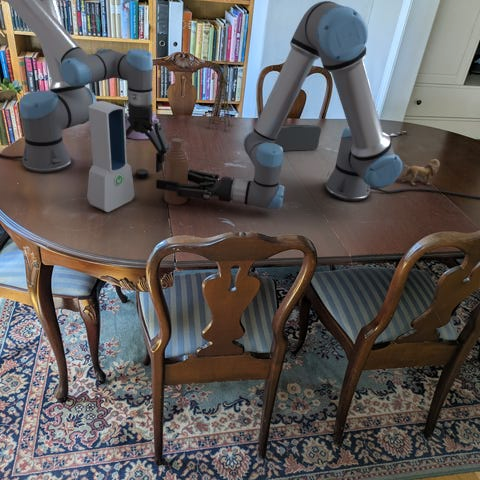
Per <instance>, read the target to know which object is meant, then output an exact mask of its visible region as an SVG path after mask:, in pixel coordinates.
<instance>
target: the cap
mask: <svg viewBox="0 0 480 480" xmlns="http://www.w3.org/2000/svg"><path fill="white" fill-rule="evenodd" d="M135 178H137V179H138V180H147V179H148V178H149V170H148V169H146V168H138V169H136V170H135Z"/></svg>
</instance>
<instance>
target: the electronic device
mask: <svg viewBox="0 0 480 480" xmlns="http://www.w3.org/2000/svg"><path fill="white" fill-rule="evenodd" d="M88 109H89V121H88V122H89V130H90V144H91V155H92V165H91V166H90V169H89V171H88V182H87V195H86V197H87V201H88V203H89V205H91V206H92V207H95V208H97V209H99V210H101V211H103V212H106V213H110V212H112V211H114V210H115V209H118V208H120V207H122V206H123V205H125V204H127V203H130V202H132V201H133V199H134V197H135V187H134V179H133V171H132V165H131V164H129V163H128V153H127V151H128V150H127V151H126V147H127V138H126V127H125V113H126V108H125V107H124V106H120V105H117V104H115V103H111V102H108V101H104V100H97V102H95V103H93V104H91V105H90V106H89V107H88Z"/></svg>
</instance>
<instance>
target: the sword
mask: <svg viewBox="0 0 480 480" xmlns="http://www.w3.org/2000/svg"><path fill="white" fill-rule="evenodd" d="M404 134H406V133H402V134H400V132H393V133H390V134H387V135H388V136H389V137H390V138H391V137H394V136H395V137H398V136H399V135H404Z"/></svg>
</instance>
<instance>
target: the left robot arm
mask: <svg viewBox="0 0 480 480" xmlns="http://www.w3.org/2000/svg"><path fill="white" fill-rule="evenodd" d="M1 1H2V2H3V3H4V2H5V3H7V4H8V5H9V6H10V7H11V8H12V9H13V11H14V12H15V13H16V14H17V16H19V17H20V19H21V20H22V21H23V22H24V23H25V25H26V26H27V27H28V28H29V29H30V30H31V32H32V33H33V34H34V35H35V36H36V37H37V39H38V40H39V44H40V47H41V50H42V53H43V57H44V60H45V63H46V66H47V70H48V73H49V76H50V79H51V84H50V86H49V90H39V91H38V90H34V91H31V92H28V93H26V94H24V95H22V97H21V98H20V99H19V103H18V104H19V116H20V119H21V125H22V132H23V137H24V148H23V153H22V155H14V156H13V155H12V156H11V155H5V154H2V153H0V158H3V159H10V160H15V159H18V160H19V159H22V160H21V161H22V166H23V168H24V169H25V170H27V171H29V172H33V173H39V174H46V173H56V172H61V171H63V170H66V169H67V168H69V167H70V166H71V163H72V159H71V155H70V153H69V151H68V150H67V149H68V148H67V147H66V145H65V143H64V140H63V130H66V129H69V128H73V127H75V126H78V125H84V124H86V123H88V122H90V121H89V109H88V107H89V106H90V105H91V104H93V103H95V102H98V100H97V96H96V95H95V93H94V92H93V91H92V89H90V88H89V87H86V86H87V85H90V84H94V83H97V82H102V81H107V80H111V79H119V80H123V81H126V84H127V102H128V103H127V113H128V114H129V116H128V115H127V113H126V112H125V124H126V122H127V121H129V123H130V126H129V127H128V128H127V130H126V139H127V138H128V136H129V135H130V134H131V133H132V131H133V130H134V131H135V132H140V133H142V134H144V133H145V135H146V136H147V137H148V139H149V141H150V142H151V144H152V146H153V147H154V149H155V150H156V151H157V153H156V154H155V173H160V172H161V171H162V170H163V164H164V156H165V153H166V152H167V151H168V150H169V148H170V145H169V142H168V140H167V137H166V135H165V132H164V130H163V125H162V122H161V121H159V122H153V121H152V115H153V114H154V112H153V111H154V110H153V109H154V107H153V103H154V101H153V99H154V98H153V97H154V96H153V95H154V93H153V91H154V90H153V88H154V87H153V78H154V77H153V75H154V74H153V73H154V63H153V62H154V61H153V54H152V53H151V51H149V50H147V49H141V48H131V49H127V51H126V53H124V52H120V51H117V50H114V49H111V48H99V49H98V50H97V51H96V52H94V53H92V54H87V53H86V52H85V50H84V49H82V47H81V46H80V45H79V43H78V42H77V41H76V40H75V39H74V37H72V36H71V34H70V33H69V32H68V31H67V30H66V29H65V26H64V22H63V18H62V14H61V11H60V7H59V4H58V1H57V0H1ZM152 126H153V127H154V128H152ZM153 129H155V133H156V135H157V136H156V135H155V133H154V130H153ZM148 131H150V132H148ZM126 151H128V149H127V146H126Z"/></svg>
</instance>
